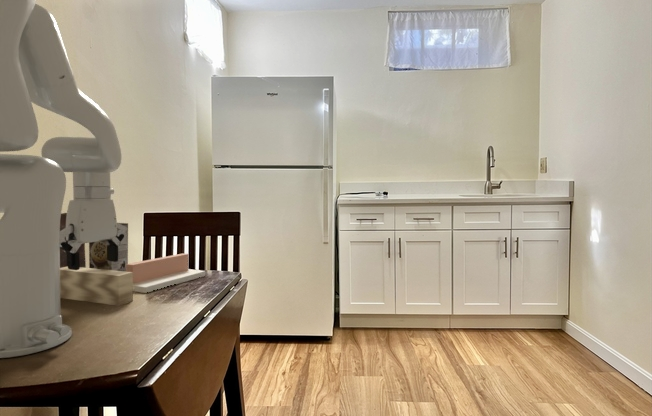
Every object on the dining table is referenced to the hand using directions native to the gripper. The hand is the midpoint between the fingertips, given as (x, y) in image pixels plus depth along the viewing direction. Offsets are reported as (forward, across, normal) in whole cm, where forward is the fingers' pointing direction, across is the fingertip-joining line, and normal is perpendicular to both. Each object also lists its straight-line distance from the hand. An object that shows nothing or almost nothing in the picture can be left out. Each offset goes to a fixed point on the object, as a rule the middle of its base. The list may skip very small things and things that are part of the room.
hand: (94, 265), depth 89 cm
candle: (+9, -5, -17) cm, 20 cm away
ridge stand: (+8, -19, +1) cm, 21 cm away
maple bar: (+8, +1, +1) cm, 8 cm away
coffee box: (+9, -18, -19) cm, 28 cm away
